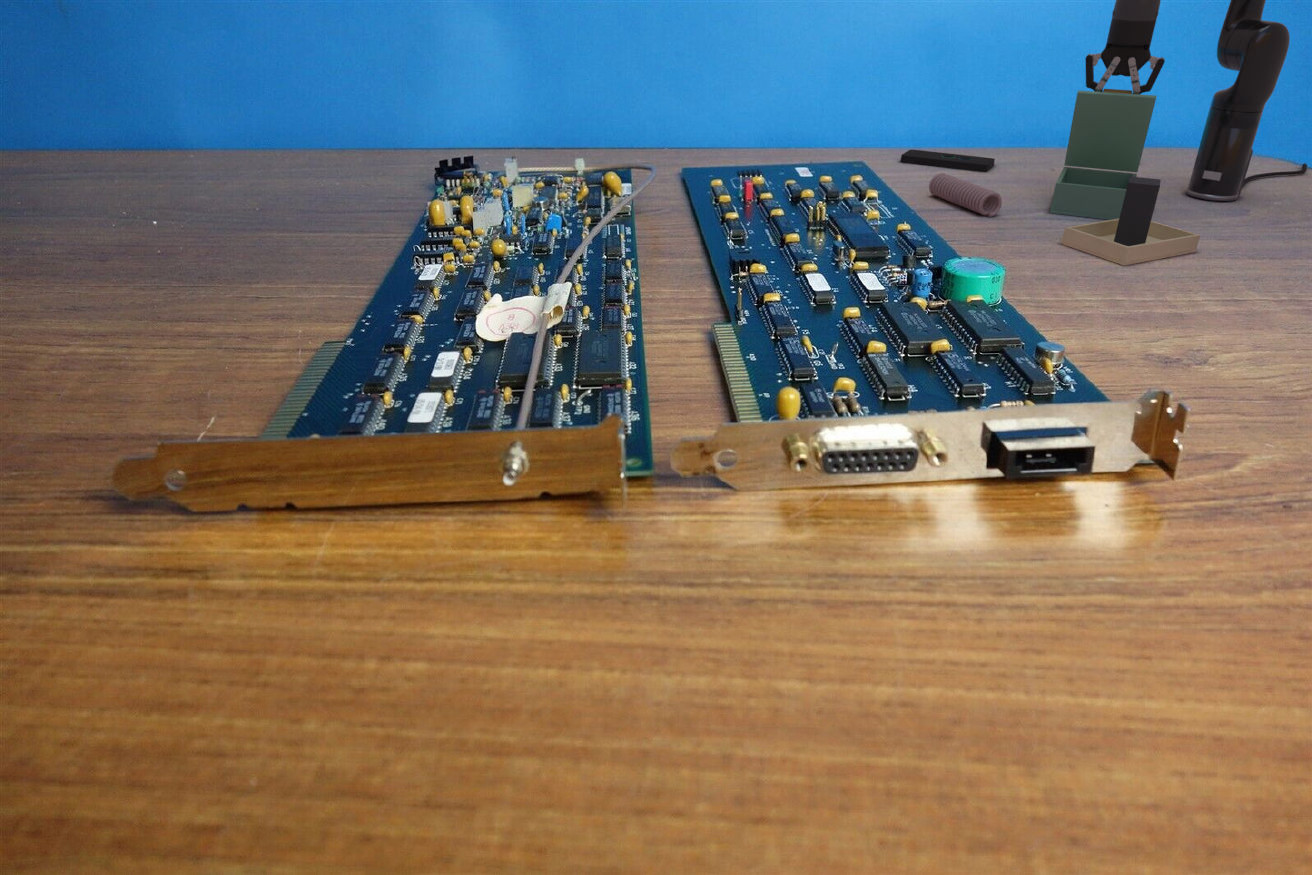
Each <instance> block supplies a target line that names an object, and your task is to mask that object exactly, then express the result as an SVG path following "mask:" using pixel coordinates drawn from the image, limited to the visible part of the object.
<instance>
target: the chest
mask: <svg viewBox="0 0 1312 875" xmlns="http://www.w3.org/2000/svg"><path fill="white" fill-rule="evenodd" d="M1129 177H1138V173H1136V172H1125V171H1115V170H1104V169H1094V168H1083V167H1073V166H1064V167H1063V168H1062V170H1061V172H1060V174H1059V176H1058V178H1057V180H1056V182H1055V185H1054V191H1053V196H1052V201H1051V205H1050V210H1049V214H1055V215H1064V216H1072V217H1081V218H1091V219H1098V220H1099V219H1100V220H1106V221H1107V220H1113V219H1119V218H1120V213H1121V209H1122V205H1123V201H1124V197H1125V193H1126V189H1127V185H1128V181H1129Z"/></svg>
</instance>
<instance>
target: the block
mask: <svg viewBox="0 0 1312 875" xmlns="http://www.w3.org/2000/svg"><path fill="white" fill-rule="evenodd" d="M1160 188H1161V179H1160V178H1150V177H1149V178H1148V177H1141V176H1140V177H1138V176H1137V177H1129V181H1128V185H1127V189H1126V193H1125V197H1124V201H1123V205H1122V209H1121V213H1120V218H1119V222H1118V226H1117V230H1116V234H1115V238H1114V242H1116V243H1119V244H1122V245H1125V246H1134V245H1139V244H1145V242H1146V238H1147V235H1148V231H1149V227H1150V223H1151V221H1152V218H1153V215H1154V211H1155V207H1156V204H1157V200H1158V196H1159V193H1160V192H1159V191H1160Z"/></svg>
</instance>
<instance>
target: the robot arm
mask: <svg viewBox="0 0 1312 875" xmlns="http://www.w3.org/2000/svg"><path fill="white" fill-rule="evenodd" d="M1266 1H1267V0H1230V2H1229V5H1228V7H1227V11H1226V13H1225V16H1224V19H1223V23H1222V27H1221V29H1220V33H1219V36H1218V40H1217V44H1216V58H1217V62H1218V64H1219V65H1220V66H1221V67H1222V68H1223V69H1227V70H1229V71H1230V70H1231V71H1235V72H1238V73H1237V76H1236V78H1235V81H1234V82H1233V84H1232V85H1231V86H1229V87H1227V88H1225V89H1221V90H1218V91H1216V92H1215V93H1214V94H1213V96H1212V98H1211V102H1210V107H1209V109H1208V112H1207V117H1206V120H1205V124H1204V128H1203V132H1202V135H1201V139H1200V142H1199V145H1198V149H1197V152H1196V157H1195V161H1194V165H1193V168H1192V171H1191V175H1190V177H1189V181H1188V186H1187V188H1186V192H1185V193H1186V195H1188V196H1189V197H1193V198H1196V199H1200V200H1206V201H1214V202H1231V201H1236V200H1238V198H1239V197H1240V196H1241V193H1242V190H1243V188H1244V186H1246V184H1247V182H1249V181H1251V180H1255V179H1259V178H1266V177H1274V176H1295V175H1302V174H1304V173H1305V172H1307V169H1308V164H1307V163H1303V164H1302V165H1301V169H1300V170H1290V171H1289V170H1288V171H1273V172H1272V171H1271V172H1265V173H1258V174H1253V175H1249V176H1247V173H1248V170H1249V166H1250V163H1251V159H1252V156H1253V154H1254V150H1253V147H1254V142H1255V140H1256V135H1257V133H1258V129H1259V126H1260V123H1261V119H1262V115H1263V112H1264V110H1265V106H1266V104H1267V102H1268V101H1269V99H1270V98H1271V97H1272V94H1273V93H1274V91H1275V88H1276V87H1277V83H1278V80H1279V77H1280V74H1281V72H1282V69H1283V67H1284V63H1285V61H1286V57H1287V55H1288V52H1289V47H1290V40H1291V39H1290V38H1291V37H1290V32H1289V29H1288V27H1287V26H1286V25H1285V24H1283V23H1282V22H1278V21H1271V20H1262V18H1263V13H1264V8H1265V5H1266ZM1160 6H1161V0H1115V3H1114V6H1113V10H1112V14H1111V20H1110V25H1109V30H1108V34H1107V39H1106V43H1105V47H1104V49H1103V50H1102V51H1101V52H1099V53H1088V54H1087V55H1086V56H1085V87H1086V88H1087V89H1090V90H1092V91H1094V92H1103V90H1104V88H1105V86H1106V85H1107V83H1108V81H1109V80H1110V78H1111V76H1113V77H1118V76H1123V77H1128V78H1129V77H1130V82H1131V83H1130V84H1131V88H1132V94H1140V95H1142V94H1144V93H1148V92H1151V91H1152V89H1153V87H1154V85H1155V83H1156V81H1157V80H1158V79H1157V78H1158V77H1159V75H1160V73H1161V70H1162V68H1163V66H1164V64H1165V62H1166V60H1165V57H1162V56H1161V57H1157V56H1154V55H1152V53H1151V45H1152V40H1153V36H1154V32H1155V28H1156V23H1157V19H1158V16H1159V11H1160ZM1099 60H1101V61H1102V63H1103V65H1104V67H1105V69H1106V70H1105V72H1104V73H1103V75H1102V77H1101V78H1100V80H1099V81H1098V82H1097V81H1095V72H1094V70H1095V69H1094V68H1095V66H1097V65H1098V62H1099ZM1148 62H1149V63H1150V66H1149V68H1150V69H1151V70H1152V71H1151V72H1150V75H1149V77H1148V79H1147V81H1146V83H1145V84H1141V82H1140V73H1139V71H1140V70H1141V69H1142V68H1143V67H1144V66H1145V65H1146V64H1147V63H1148ZM1246 176H1247V177H1246Z"/></svg>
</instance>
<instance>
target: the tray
mask: <svg viewBox="0 0 1312 875" xmlns="http://www.w3.org/2000/svg"><path fill="white" fill-rule="evenodd" d="M1118 222H1119V219H1113V220H1107V219H1106V220H1101V221H1096V222H1090V223H1083V224H1078V225H1077V224H1076V225H1071V226H1065V227H1064V230H1063V236H1062V240H1061V245H1063V246H1066V247H1069V248H1071V249H1075V250H1078V251H1080V252H1084V253H1086V254H1090V255H1091V256H1095V257H1097V258H1101V259H1104V260H1107V261H1109V262H1113V263H1115V264H1117V265H1121V266H1130V265H1134V264H1139V263H1145V262H1150V261H1157V260H1160V259H1165V258H1166V259H1167V258H1171V257H1177V256H1182V255H1187V254H1193V253H1196V252H1197V248H1198V244H1199V242H1200V238H1201V234H1199V233H1195V232H1192V231H1188V230H1185V229H1182V228H1178V227H1175V226H1171V225H1167V224H1164V223H1161V222H1158V221H1154V220H1151V223H1150V227H1149V231H1148V235H1147V238H1146V242H1145V244H1139V245H1134V246H1125V245H1122V244H1119V243H1116V242H1114V238H1115V234H1116V230H1117V226H1118Z"/></svg>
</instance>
